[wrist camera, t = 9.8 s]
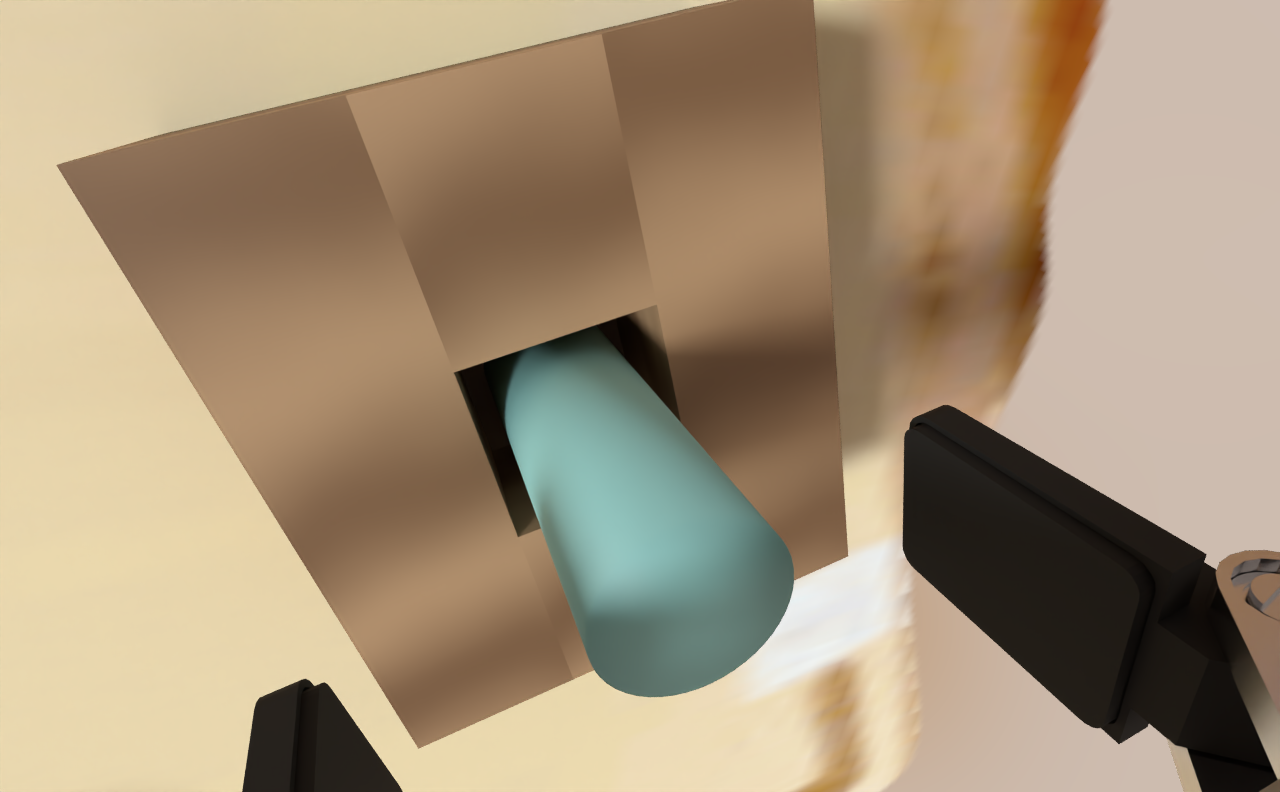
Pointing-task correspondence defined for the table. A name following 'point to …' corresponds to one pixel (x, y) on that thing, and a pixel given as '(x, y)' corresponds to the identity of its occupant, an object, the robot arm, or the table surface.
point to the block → (496, 313)
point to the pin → (638, 520)
